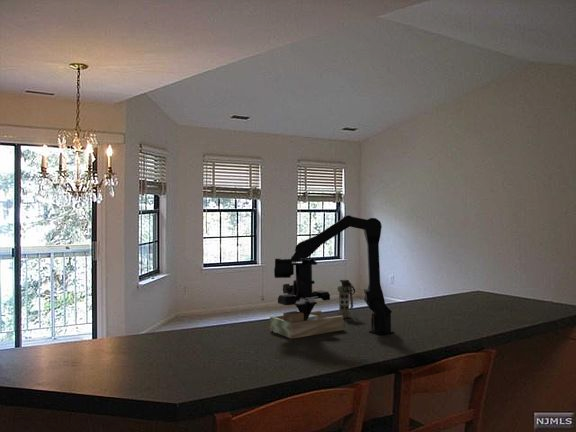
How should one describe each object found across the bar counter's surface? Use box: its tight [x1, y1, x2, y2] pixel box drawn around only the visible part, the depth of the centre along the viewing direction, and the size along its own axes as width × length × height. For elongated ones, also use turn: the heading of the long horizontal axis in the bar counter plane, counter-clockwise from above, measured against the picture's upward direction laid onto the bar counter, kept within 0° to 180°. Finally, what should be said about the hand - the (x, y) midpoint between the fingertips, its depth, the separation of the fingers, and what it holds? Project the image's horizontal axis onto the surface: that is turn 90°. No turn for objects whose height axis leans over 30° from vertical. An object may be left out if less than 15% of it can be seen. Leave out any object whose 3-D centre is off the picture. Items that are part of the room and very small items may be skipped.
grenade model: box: [337, 279, 356, 319], centre depth 204 cm, size 6×7×15 cm
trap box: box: [269, 309, 344, 339], centre depth 181 cm, size 14×22×5 cm, turn 123°
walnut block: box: [282, 310, 304, 323], centre depth 175 cm, size 5×5×5 cm
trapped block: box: [308, 314, 318, 320], centre depth 186 cm, size 4×4×4 cm
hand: (304, 322), depth 178 cm, fingers closed
